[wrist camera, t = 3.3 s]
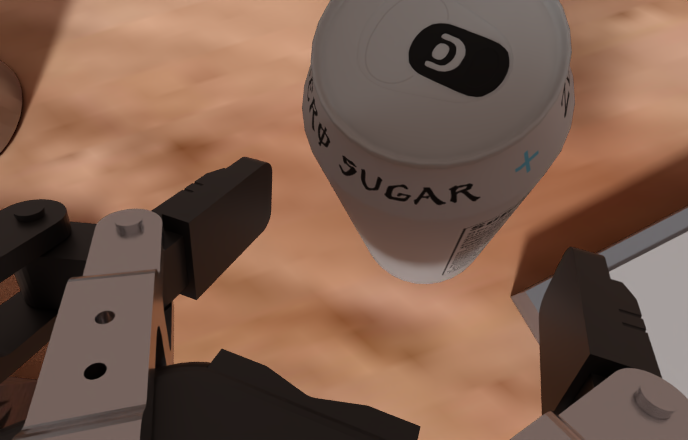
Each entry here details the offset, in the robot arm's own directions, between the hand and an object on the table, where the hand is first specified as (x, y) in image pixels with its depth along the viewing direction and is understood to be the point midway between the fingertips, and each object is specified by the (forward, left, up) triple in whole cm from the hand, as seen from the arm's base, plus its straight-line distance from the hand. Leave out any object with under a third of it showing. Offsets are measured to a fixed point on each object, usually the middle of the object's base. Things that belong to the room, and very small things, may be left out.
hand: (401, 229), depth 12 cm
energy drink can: (-2, +2, -11) cm, 11 cm away
